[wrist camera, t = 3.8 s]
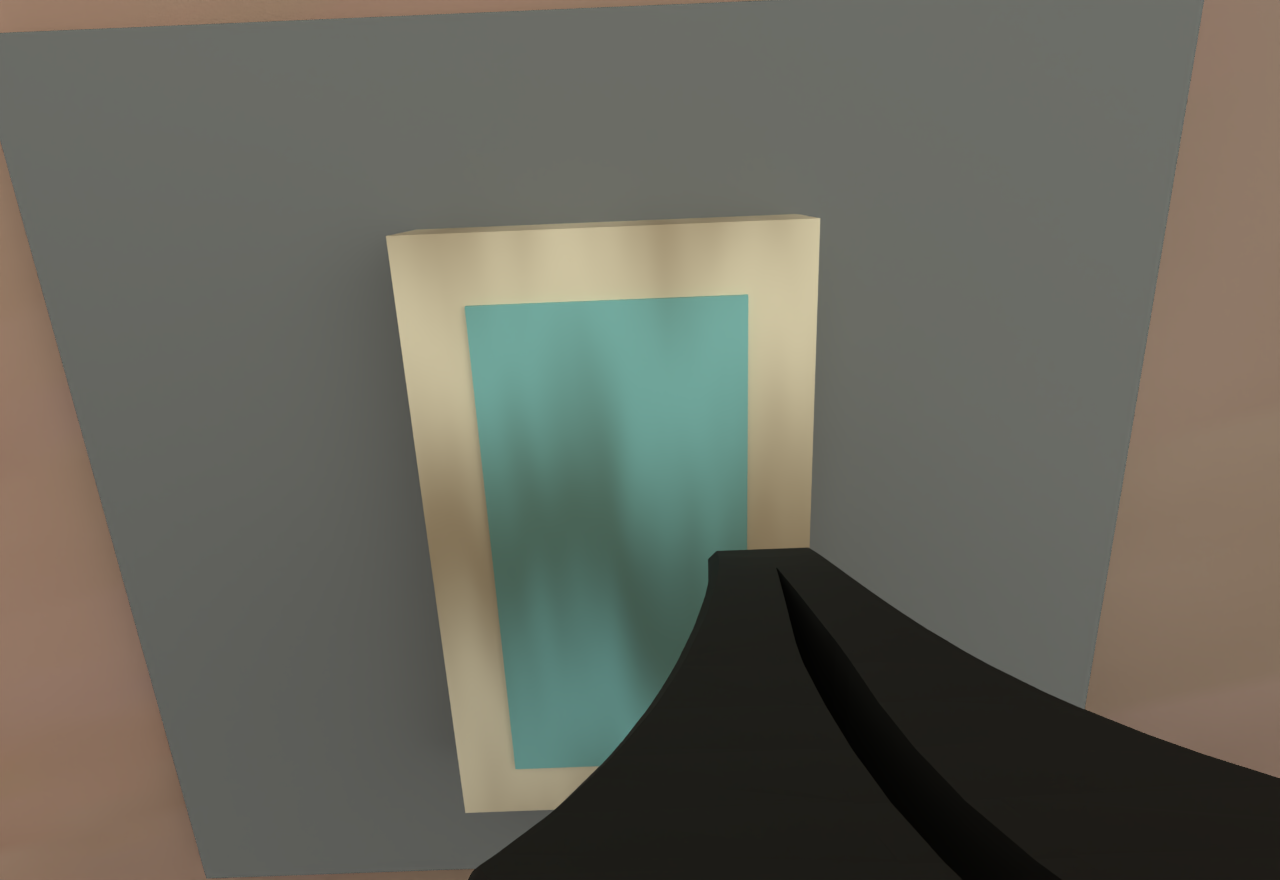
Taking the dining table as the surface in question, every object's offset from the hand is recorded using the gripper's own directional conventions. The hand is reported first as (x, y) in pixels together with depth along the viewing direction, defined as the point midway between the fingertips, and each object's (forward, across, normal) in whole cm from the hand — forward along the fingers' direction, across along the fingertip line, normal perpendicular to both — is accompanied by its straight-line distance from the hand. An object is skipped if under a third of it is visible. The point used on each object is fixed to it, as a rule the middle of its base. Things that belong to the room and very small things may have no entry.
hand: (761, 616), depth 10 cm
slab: (+3, -1, 0) cm, 3 cm away
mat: (+4, +2, 0) cm, 5 cm away
